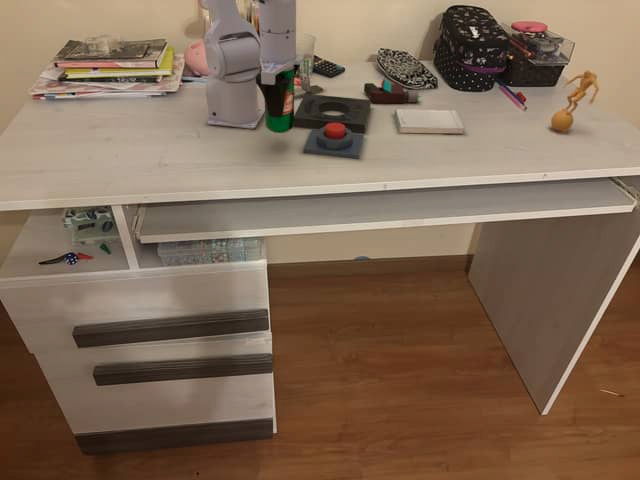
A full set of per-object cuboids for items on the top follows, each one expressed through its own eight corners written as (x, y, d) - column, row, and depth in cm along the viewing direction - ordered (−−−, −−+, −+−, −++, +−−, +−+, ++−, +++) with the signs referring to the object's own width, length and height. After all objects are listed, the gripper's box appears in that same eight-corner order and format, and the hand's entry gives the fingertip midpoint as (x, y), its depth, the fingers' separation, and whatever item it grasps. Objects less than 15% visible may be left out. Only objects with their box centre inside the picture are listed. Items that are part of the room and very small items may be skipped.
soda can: (272, 136, 88) (270, 67, 81) (261, 124, 92) (258, 57, 84) (298, 131, 90) (299, 63, 83) (286, 119, 94) (286, 53, 86)
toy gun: (422, 104, 110) (426, 83, 107) (367, 105, 109) (369, 82, 106) (413, 87, 118) (416, 66, 115) (361, 87, 117) (363, 66, 114)
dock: (293, 127, 100) (293, 117, 99) (305, 102, 110) (305, 93, 108) (364, 134, 98) (365, 124, 97) (370, 108, 108) (371, 99, 107)
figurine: (538, 122, 105) (556, 63, 98) (563, 119, 106) (583, 61, 99) (563, 140, 99) (584, 79, 91) (589, 137, 100) (613, 77, 93)
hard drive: (400, 126, 98) (464, 126, 99) (394, 108, 105) (455, 109, 105) (399, 133, 99) (463, 134, 100) (394, 115, 106) (453, 116, 106)
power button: (323, 139, 92) (323, 130, 91) (326, 130, 95) (327, 121, 94) (343, 141, 92) (343, 132, 90) (345, 132, 94) (346, 123, 93)
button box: (303, 153, 92) (303, 140, 90) (311, 133, 98) (311, 121, 97) (358, 159, 91) (360, 146, 89) (363, 138, 97) (364, 126, 95)
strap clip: (293, 100, 110) (293, 81, 108) (285, 95, 112) (284, 76, 110) (323, 91, 115) (324, 72, 112) (315, 86, 117) (316, 68, 114)
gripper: (293, 44, 74) (293, 130, 83) (311, 17, 85) (309, 95, 94) (246, 40, 75) (250, 126, 83) (270, 14, 86) (272, 92, 95)
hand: (279, 109), depth 89 cm, fingers closed on soda can, 5 cm apart
